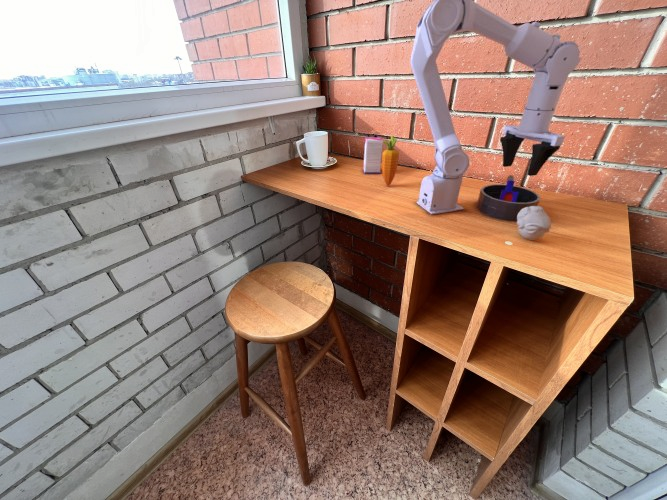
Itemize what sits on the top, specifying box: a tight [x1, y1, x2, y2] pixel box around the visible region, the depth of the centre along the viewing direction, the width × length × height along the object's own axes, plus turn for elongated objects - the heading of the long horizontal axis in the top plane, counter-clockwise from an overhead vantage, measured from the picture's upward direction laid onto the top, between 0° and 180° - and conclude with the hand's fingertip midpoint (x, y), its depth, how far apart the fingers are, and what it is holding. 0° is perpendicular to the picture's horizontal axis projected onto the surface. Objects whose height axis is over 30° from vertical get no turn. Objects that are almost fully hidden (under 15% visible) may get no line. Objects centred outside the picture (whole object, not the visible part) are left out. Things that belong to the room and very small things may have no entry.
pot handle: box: [506, 174, 515, 182], centre depth 80 cm, size 11×2×2 cm, turn 151°
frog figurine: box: [516, 205, 552, 241], centre depth 60 cm, size 6×7×7 cm
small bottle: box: [499, 180, 519, 202], centre depth 73 cm, size 4×4×8 cm
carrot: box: [381, 135, 400, 187], centre depth 87 cm, size 5×5×15 cm
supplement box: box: [363, 136, 384, 175], centre depth 101 cm, size 6×6×12 cm
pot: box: [476, 183, 541, 222], centre depth 73 cm, size 13×13×5 cm
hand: (518, 170), depth 70 cm, fingers open, 7 cm apart
